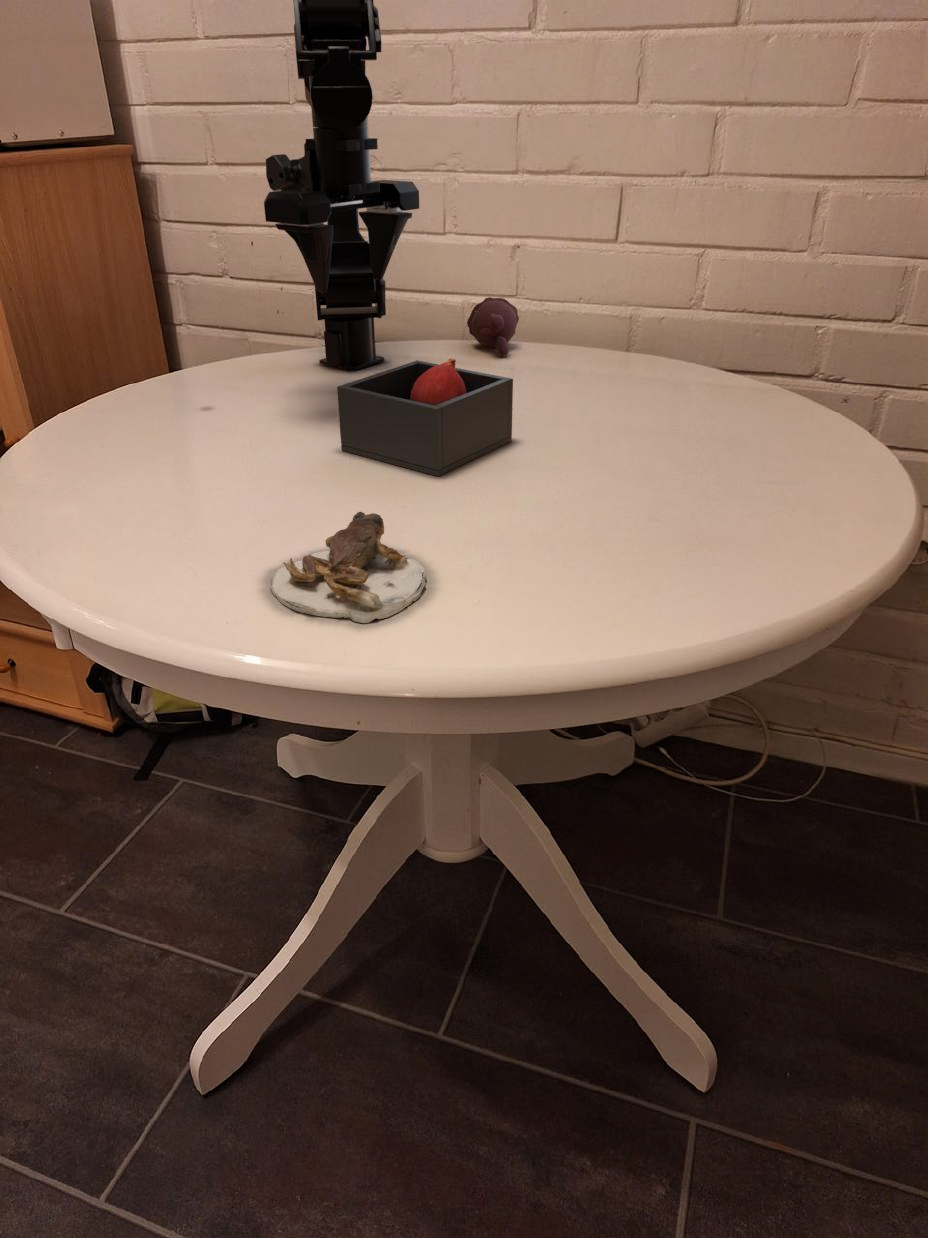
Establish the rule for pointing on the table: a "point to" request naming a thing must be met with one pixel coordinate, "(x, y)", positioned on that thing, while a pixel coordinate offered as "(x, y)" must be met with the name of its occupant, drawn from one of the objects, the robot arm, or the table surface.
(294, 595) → the frog figurine
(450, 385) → the onion
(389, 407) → the bin
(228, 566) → the table surface
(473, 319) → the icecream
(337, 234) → the robot arm
